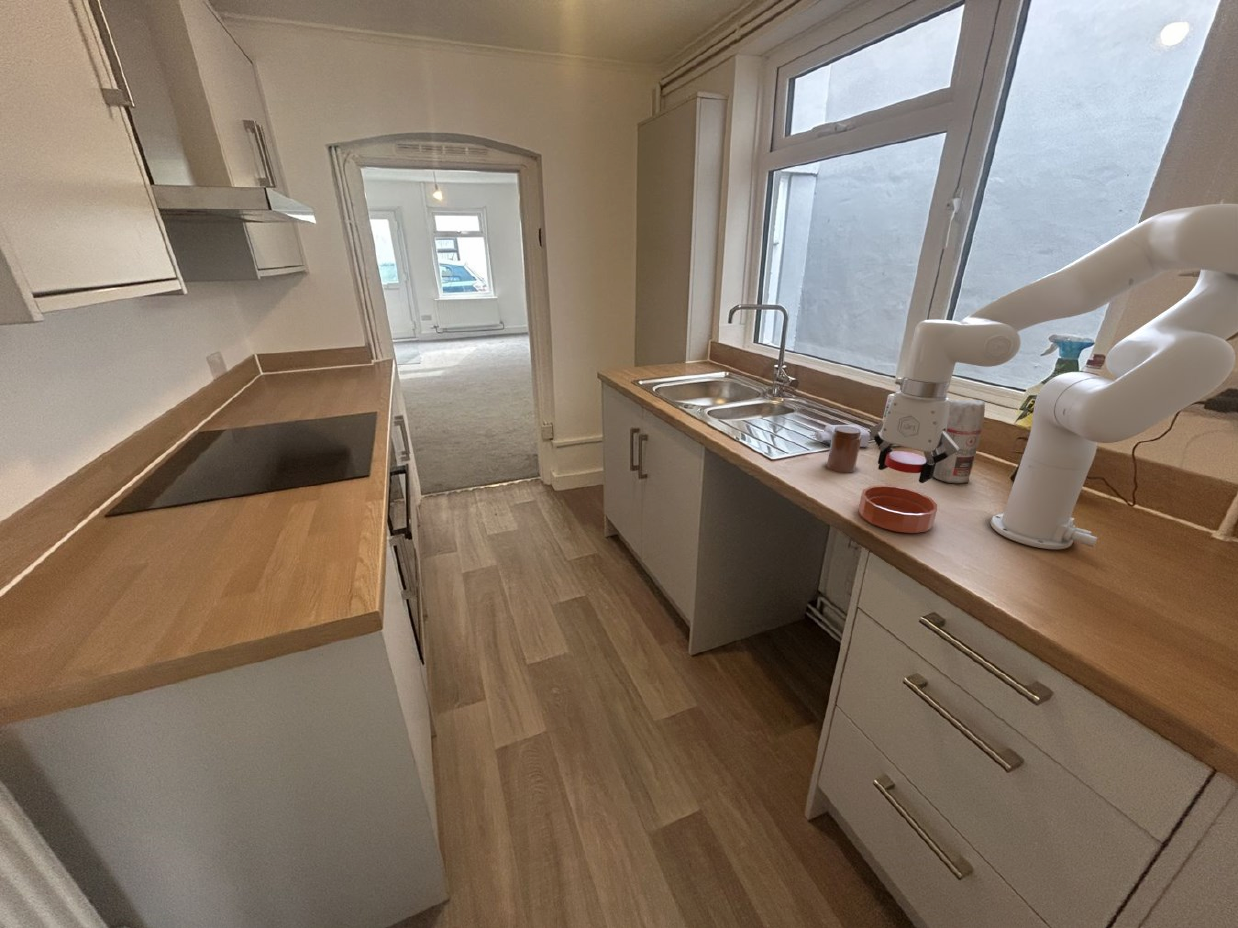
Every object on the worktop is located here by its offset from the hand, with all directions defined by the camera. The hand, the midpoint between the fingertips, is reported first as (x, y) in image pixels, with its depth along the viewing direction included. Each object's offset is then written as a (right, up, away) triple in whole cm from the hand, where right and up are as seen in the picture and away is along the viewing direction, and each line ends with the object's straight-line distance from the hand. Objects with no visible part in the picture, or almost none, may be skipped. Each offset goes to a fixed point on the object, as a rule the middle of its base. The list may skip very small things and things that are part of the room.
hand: (903, 474), depth 97 cm
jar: (+1, +1, +29) cm, 29 cm away
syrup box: (+25, +8, +47) cm, 54 cm away
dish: (0, -9, +4) cm, 10 cm away
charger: (+7, +8, +47) cm, 48 cm away
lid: (0, +3, -1) cm, 3 cm away
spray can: (+25, -2, +23) cm, 34 cm away
